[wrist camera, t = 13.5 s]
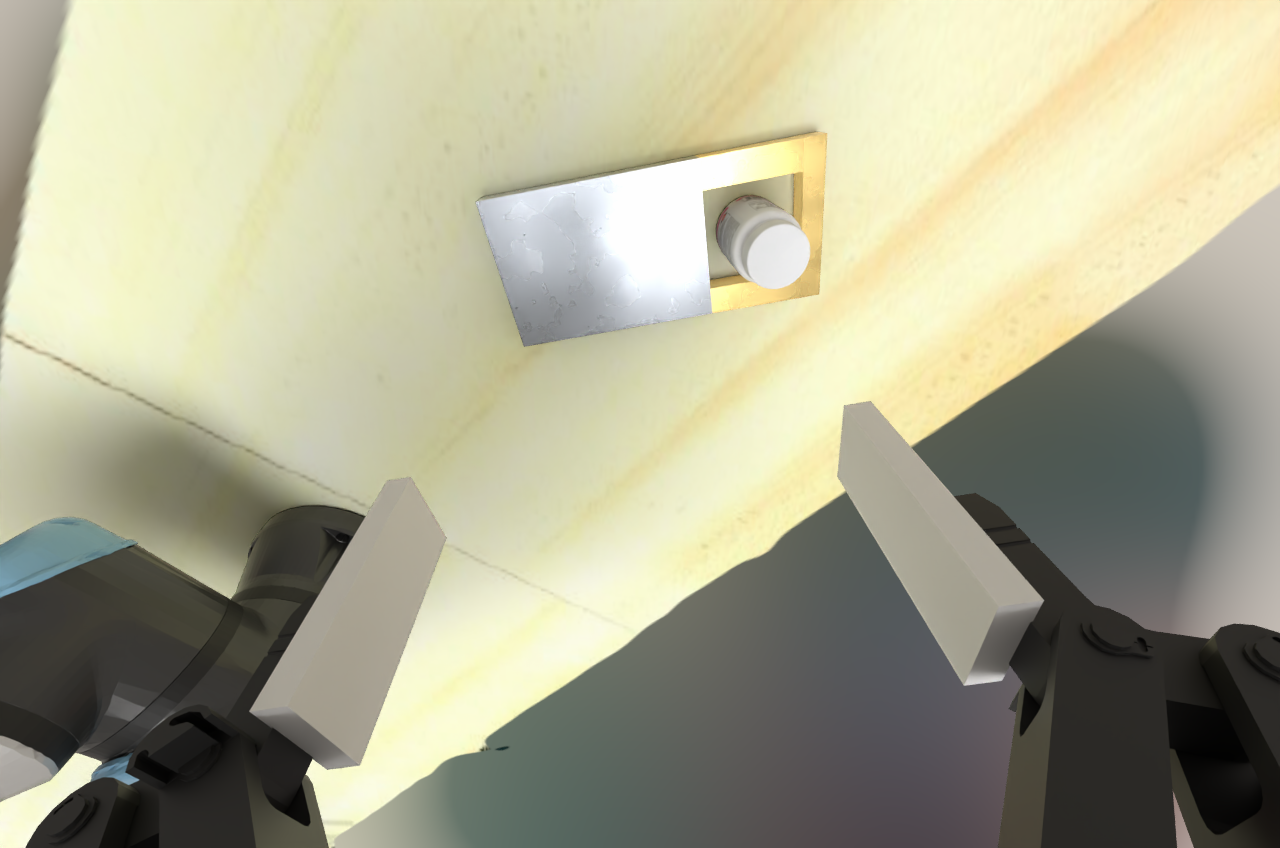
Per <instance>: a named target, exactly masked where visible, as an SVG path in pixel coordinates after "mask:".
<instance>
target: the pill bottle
mask: <svg viewBox="0 0 1280 848" xmlns="http://www.w3.org/2000/svg"><path fill="white" fill-rule="evenodd" d="M716 237H717V242H718V245H719V247H720V249H721V251H722V252H723V253H724V255H725V256H726V257H727V259H728V260H729V261H730V263H731V264H732V265H733V266H734V268H735V269H736V270H737V271H738V273H739V274H740V275H741V276H742V277H744V278H745V279H747V280H748V281H751V282H754V283H756V284H757V285H759V286H761V287H763V288H767V289H779V288H783V287H786V286H788V285H790V284H791V283H793V282H794V281H796V280H797V279H798V278H799V277H800V276H801V275H802V273H803V272H804V270H805V268H806V267H807V264H808V261H809V258H810V244H809V241H808V238H807V236H806V235H805V233H804V232H803V231H802V230H801V227H800V225H799V223H798V222H797V221H796V219H795V218H794V217H793V216H792V215H791V214H789V213H788V212H786V211H784V210H783V209H781V208H780V207H778V206H776V205H775V204H773V203H771V202H770V201H768V200H766V199H764V198H762V197H759V196H754V195H748V196H743V197H740V198H738V199H736V200H734V201H733V202H731V203H730V204H729V205H728V206H727V207H726V208H725V209H724V211H723V212H722V214H721V216H720V218H719V220H718V223H717V228H716Z"/></svg>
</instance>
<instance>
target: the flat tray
mask: <svg viewBox="0 0 1280 848" xmlns="http://www.w3.org/2000/svg"><path fill="white" fill-rule="evenodd" d="M826 148H827V133H822V132H813V133H807V134H802V135H797V136H792V137H787V138H782V139H777V140H772V141H766V142H761V143H756V144H751V145H746V146H741V147H736V148H731V149H726V150H720V151H715V152H710V153H705V154H700V155H695V156H690V157H685V158H680V159H674V160H669V161H664V162H659V163H654V164H649V165H644V166H639V167H633V168H628V169H623V170H618V171H613V172H608V173H603V174H598V175H593V176H587V177H582V178H577V179H572V180H567V181H562V182H557V183H552V184H546V185H541V186H536V187H531V188H526V189H521V190H516V191H511V192H506V193H500V194H495V195H490V196H485V197H482V198H480V199H479V200H477V201H476V205H477V208H478V211H479V214H480V217H481V220H482V223H483V226H484V229H485V232H486V235H487V238H488V241H489V244H490V247H491V250H492V253H493V256H494V258H495V261H496V264H497V267H498V270H499V273H500V276H501V279H502V282H503V285H504V288H505V291H506V294H507V297H508V300H509V303H510V306H511V309H512V312H513V315H514V318H515V321H516V324H517V327H518V330H519V333H520V336H521V339H522V342H523V345H524V347H525V346H530V345H536V344H542V343H547V342H553V341H558V340H564V339H570V338H575V337H581V336H587V335H592V334H598V333H604V332H609V331H615V330H620V329H626V328H632V327H637V326H643V325H649V324H654V323H660V322H666V321H671V320H677V319H683V318H688V317H694V316H699V315H705V314H711V313H716V312H722V311H728V310H733V309H739V308H745V307H750V306H756V305H761V304H767V303H773V302H778V301H784V300H790V299H795V298H801V297H807V296H812V295H818V294H819V288H820V268H821V248H822V228H823V208H824V188H825V168H826ZM792 173H794V209H793V217H794V218H795V219H796V221H797V222H798V223H799V225H800V227H801V230H802V231H803V232H804V233H805V235H806V236H807V238H808V241H809V244H810V258H809V261H808V264H807V267H806V268H805V270H804V272H803V273H802V275H801V276H800V277H799V278H798V279H797V280H796V281H794V282H793V283H791V284H790V285H788V286H786V287H783V288H779V289H767V288H763V287H761V286H759V285H757V284H756V283H754V282H751V281H748V280H747V279H745V278H744V277H742V276H741V275H736V276H730V277H725V278H719V279H714V280H710V279H709V267H708V255H707V243H706V231H705V219H704V207H703V195H702V191H703V190H708V189H714V188H719V187H724V186H729V185H735V184H740V183H745V182H750V181H755V180H761V179H766V178H771V177H776V176H782V175H787V174H792Z"/></svg>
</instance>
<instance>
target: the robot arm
mask: <svg viewBox="0 0 1280 848" xmlns="http://www.w3.org/2000/svg"><path fill="white" fill-rule="evenodd" d="M837 477H838V478H839V480H840V482H841V483H842V485H843V487H844V488H845V490H846V492H847V493H848V495H849V496H850V498H851V500H852V501H853V503H854V505H855V506H856V508H857V510H858V511H859V513H860V515H861V516H862V518H863V520H864V521H865V523H866V525H867V526H868V528H869V530H870V531H871V533H872V534H873V536H874V538H875V539H876V541H877V543H878V544H879V546H880V548H881V549H882V551H883V553H884V554H885V556H886V558H887V559H888V561H889V563H890V564H891V566H892V568H893V569H894V571H895V572H896V574H897V576H898V577H899V579H900V581H901V582H902V584H903V586H904V587H905V589H906V591H907V592H908V594H909V596H910V597H911V599H912V601H913V602H914V604H915V605H916V607H917V609H918V610H919V612H920V614H921V615H922V617H923V619H924V620H925V622H926V624H927V625H928V627H929V629H930V630H931V632H932V634H933V635H934V637H935V639H936V640H937V642H938V643H939V645H940V647H941V648H942V650H943V652H944V653H945V655H946V657H947V658H948V660H949V662H950V663H951V665H952V667H953V668H954V670H955V671H956V673H957V675H958V677H959V678H960V680H961V681H962V683H963V684H964V686H965V685H972V684H979V683H988V682H995V681H1002V679H1003V678H1004V675H1005V674H1006V672H1007V670H1008V668H1009V666H1011V667H1012V669H1013V670H1014V672H1015V673H1016V674H1017V676H1018V677H1019V678H1020V680H1021V681H1022V683H1023V684H1022V685H1021V687H1020V689H1019V691H1018V692H1017V694H1016V696H1015V698H1014V699H1013V701H1012V703H1011V705H1010V707H1009V709H1010V710H1012V711H1014V712H1016V718H1015V725H1014V733H1013V740H1012V747H1011V754H1010V762H1009V769H1008V776H1007V784H1006V791H1005V798H1004V806H1003V813H1002V820H1001V827H1000V835H999V842H998V848H1177V842H1176V829H1175V815H1174V802H1173V792H1174V794H1175V797H1176V800H1177V802H1178V805H1179V807H1180V811H1181V813H1182V816H1183V819H1184V822H1185V824H1186V827H1187V830H1188V833H1189V835H1190V838H1191V841H1192V843H1193V846H1194V848H1280V633H1278V632H1275V631H1271V630H1268V629H1265V628H1262V627H1258V626H1255V625H1244V624H1232V625H1228V626H1224V627H1221V628H1220V629H1219V630H1218V631H1217V632H1216V633H1215V634H1214V636H1212V637H1211V638H1210V639H1206V638H1198V637H1191V636H1184V635H1177V634H1170V633H1163V632H1156V631H1151V630H1147V629H1144V628H1143V627H1141V626H1140V625H1139V624H1137V623H1136V622H1134V621H1133V620H1132V619H1130V618H1129V617H1127V616H1125V615H1122V614H1120V613H1118V612H1116V611H1114V610H1111V609H1109V608H1104V607H1100V606H1096V605H1094V604H1093V603H1092V602H1091V601H1090V600H1088V599H1087V598H1086V597H1085V596H1084V595H1083V594H1082V593H1081V592H1080V591H1079V590H1078V589H1077V587H1076V586H1075V585H1074V584H1073V583H1072V582H1071V581H1070V580H1069V579H1068V578H1067V577H1066V576H1065V575H1064V574H1063V573H1062V572H1061V571H1060V570H1059V569H1058V568H1057V567H1056V566H1055V565H1054V564H1053V563H1052V561H1051V560H1050V559H1049V558H1048V557H1047V556H1046V555H1045V554H1044V553H1043V552H1042V551H1041V550H1040V549H1039V548H1038V547H1037V546H1036V545H1035V544H1034V543H1031V542H1030V539H1029V538H1028V537H1027V536H1026V534H1025V533H1024V532H1023V531H1022V530H1021V529H1020V528H1017V527H1016V524H1015V523H1014V522H1013V521H1012V520H1011V519H1010V518H1009V517H1008V516H1007V515H1006V514H1005V513H1004V512H1003V510H1001V508H999V507H998V506H996V505H995V504H993V503H992V502H990V501H988V500H986V499H985V498H983V497H981V496H980V495H978V494H976V493H974V494H966V495H960V496H953V495H952V494H951V493H950V492H949V491H948V489H947V488H946V487H945V486H944V485H943V484H942V483H941V481H940V480H939V479H938V478H937V477H936V476H935V474H934V473H933V472H932V471H931V470H930V469H929V468H928V466H927V465H926V464H925V463H924V462H923V461H922V460H921V458H920V457H919V456H918V455H917V454H916V453H915V452H914V450H913V449H912V448H911V447H910V446H909V445H908V443H907V442H906V441H905V440H904V439H903V438H902V437H901V435H900V434H899V433H898V432H897V431H896V430H895V429H894V427H893V426H892V425H891V424H890V423H889V422H888V420H887V419H886V418H885V417H884V416H883V415H882V414H881V412H880V411H879V410H878V409H877V408H876V407H875V406H874V404H873V403H872V402H871V401H869V402H862V403H856V404H850V405H844V411H843V422H842V433H841V443H840V454H839V465H838V476H837ZM445 541H446V536H445V534H444V533H443V531H442V529H441V527H440V526H439V524H438V522H437V521H436V519H435V517H434V515H433V514H432V512H431V510H430V509H429V507H428V505H427V503H426V502H425V500H424V498H423V497H422V495H421V493H420V491H419V490H418V488H417V486H416V485H415V483H414V481H413V479H412V478H411V477H407V478H401V479H395V480H389V481H387V482H386V483H385V485H384V487H383V488H382V490H381V492H380V493H379V495H378V497H377V498H376V500H375V502H374V503H373V505H372V507H371V508H370V510H369V512H368V513H367V515H366V517H365V518H364V517H362V516H360V515H357V514H354V513H351V512H348V511H344V510H340V509H336V508H330V507H320V506H307V507H297V508H292V509H289V510H286V511H283V512H281V513H279V514H277V515H275V516H274V517H272V518H271V519H270V520H269V521H268V522H267V523H266V524H265V525H264V527H263V528H262V529H261V530H260V532H259V533H258V534H257V535H256V537H255V538H254V540H253V541H252V543H251V546H250V549H249V553H248V561H247V563H246V566H245V569H244V571H243V574H242V576H241V579H240V582H239V584H238V587H237V590H236V592H235V594H234V595H233V597H232V598H231V600H230V599H229V598H227V597H225V596H224V595H222V594H220V593H218V592H217V591H215V590H213V589H211V588H209V587H208V586H206V585H204V584H203V583H201V582H199V581H198V580H196V579H194V578H192V577H191V576H189V575H187V574H186V573H184V572H182V571H180V570H179V569H177V568H175V567H174V566H172V565H170V564H169V563H167V562H165V561H163V560H162V559H160V558H158V557H157V556H155V555H153V554H152V553H150V552H148V551H146V550H145V549H143V548H141V547H140V546H138V545H137V544H138V542H136V541H134V540H126V539H124V538H121V537H119V536H117V535H115V534H113V533H111V532H109V531H107V530H106V529H104V528H102V527H100V526H98V525H96V524H94V523H92V522H90V521H87V520H85V519H81V518H74V517H63V518H56V519H51V520H48V521H45V522H42V523H40V524H38V525H36V526H34V527H32V528H30V529H28V530H27V531H25V532H23V533H21V534H19V535H18V536H16V537H14V538H12V539H10V540H9V541H7V542H5V543H3V544H2V545H0V802H1V801H3V800H5V799H8V798H10V797H13V796H15V795H17V794H20V793H22V792H24V791H27V790H29V789H32V788H34V787H36V786H39V785H41V784H43V783H46V782H48V781H50V780H51V779H52V778H53V777H54V776H55V775H56V774H57V773H58V772H59V771H60V770H61V768H62V767H63V766H64V765H65V764H66V763H67V761H68V760H69V759H70V758H71V757H72V756H73V755H74V753H79V754H82V755H85V756H88V757H91V758H94V759H97V760H99V761H101V762H102V765H100V766H98V768H97V769H96V770H95V771H94V772H93V773H92V775H91V776H92V779H91V781H90V782H89V783H87V784H86V785H84V786H82V787H81V788H79V789H78V790H76V791H75V792H73V793H71V794H70V795H69V796H68V797H67V798H65V799H64V800H63V801H62V802H61V803H60V804H59V805H57V806H56V807H55V808H54V809H53V810H52V811H51V812H50V813H49V815H48V816H47V817H46V818H45V819H44V820H43V821H42V822H41V824H40V825H39V826H38V827H37V829H36V831H35V832H34V834H33V835H32V837H31V839H30V840H29V842H28V844H27V846H26V848H329V847H328V843H327V839H326V835H325V831H324V827H323V823H322V819H321V815H320V811H319V808H318V804H317V800H316V796H315V792H314V788H313V784H312V782H311V781H310V779H309V777H308V776H307V775H305V774H306V772H307V770H308V767H309V765H310V763H311V761H312V759H314V760H315V761H316V762H318V763H319V764H320V765H322V766H323V767H324V768H326V769H327V770H328V769H336V768H344V767H351V766H359V765H360V764H361V761H362V759H363V756H364V753H365V751H366V748H367V746H368V743H369V740H370V738H371V735H372V732H373V730H374V727H375V725H376V722H377V719H378V717H379V714H380V711H381V709H382V706H383V704H384V701H385V698H386V696H387V693H388V690H389V688H390V685H391V683H392V680H393V677H394V675H395V672H396V669H397V667H398V664H399V662H400V659H401V656H402V654H403V651H404V648H405V646H406V643H407V641H408V638H409V635H410V633H411V630H412V627H413V625H414V622H415V620H416V617H417V614H418V612H419V609H420V606H421V604H422V601H423V599H424V596H425V593H426V591H427V588H428V585H429V583H430V580H431V577H432V575H433V572H434V570H435V567H436V564H437V562H438V559H439V556H440V554H441V551H442V549H443V546H444V543H445Z"/></svg>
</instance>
